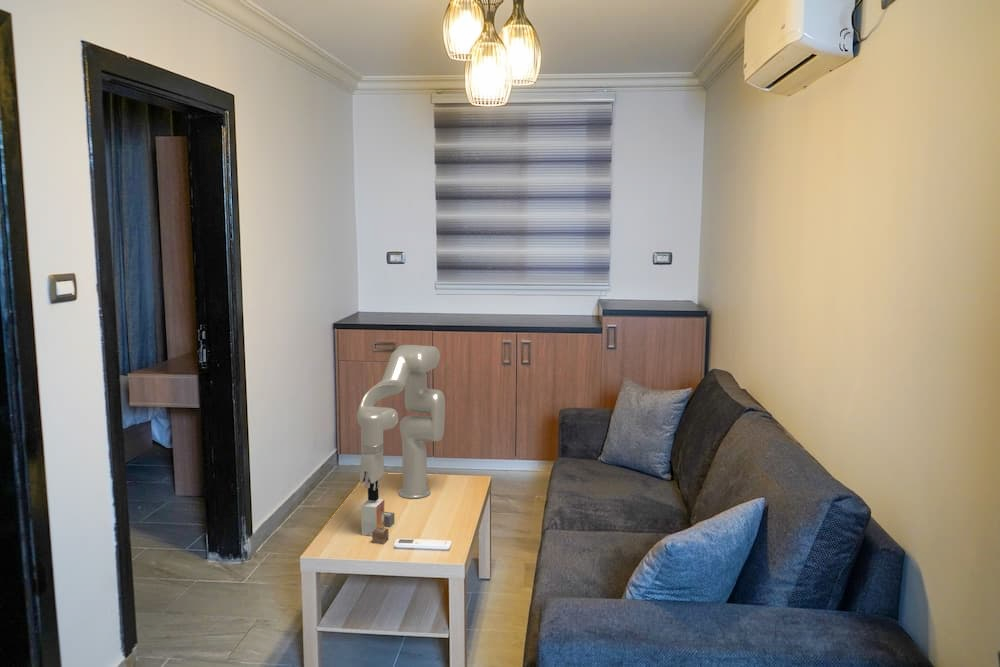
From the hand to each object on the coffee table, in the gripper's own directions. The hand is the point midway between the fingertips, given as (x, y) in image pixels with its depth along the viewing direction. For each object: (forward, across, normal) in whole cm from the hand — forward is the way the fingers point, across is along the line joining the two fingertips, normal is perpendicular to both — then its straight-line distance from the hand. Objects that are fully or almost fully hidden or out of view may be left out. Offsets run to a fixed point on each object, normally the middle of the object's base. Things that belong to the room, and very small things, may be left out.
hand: (373, 499), depth 258 cm
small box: (+12, 0, 0) cm, 12 cm away
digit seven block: (+11, +8, +6) cm, 15 cm away
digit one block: (+12, -6, +2) cm, 13 cm away
